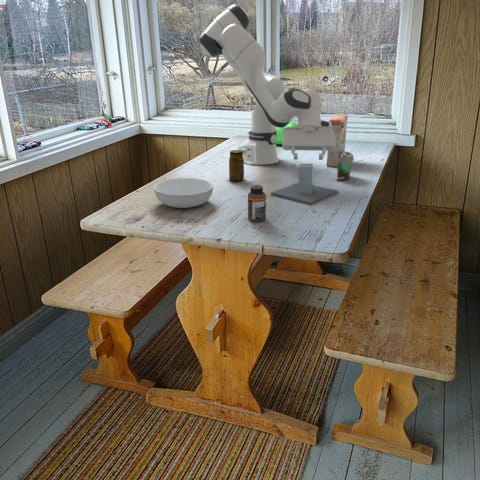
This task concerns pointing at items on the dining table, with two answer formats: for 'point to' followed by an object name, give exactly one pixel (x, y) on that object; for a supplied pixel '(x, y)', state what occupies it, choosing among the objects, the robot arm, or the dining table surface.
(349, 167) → the food container
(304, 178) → the slate-blue block
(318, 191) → the rubber mat
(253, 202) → the supplement bottle
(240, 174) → the condiment
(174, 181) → the serving bowl
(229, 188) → the dining table surface
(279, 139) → the toy bird
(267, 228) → the dining table surface
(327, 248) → the dining table surface
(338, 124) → the cracker box
